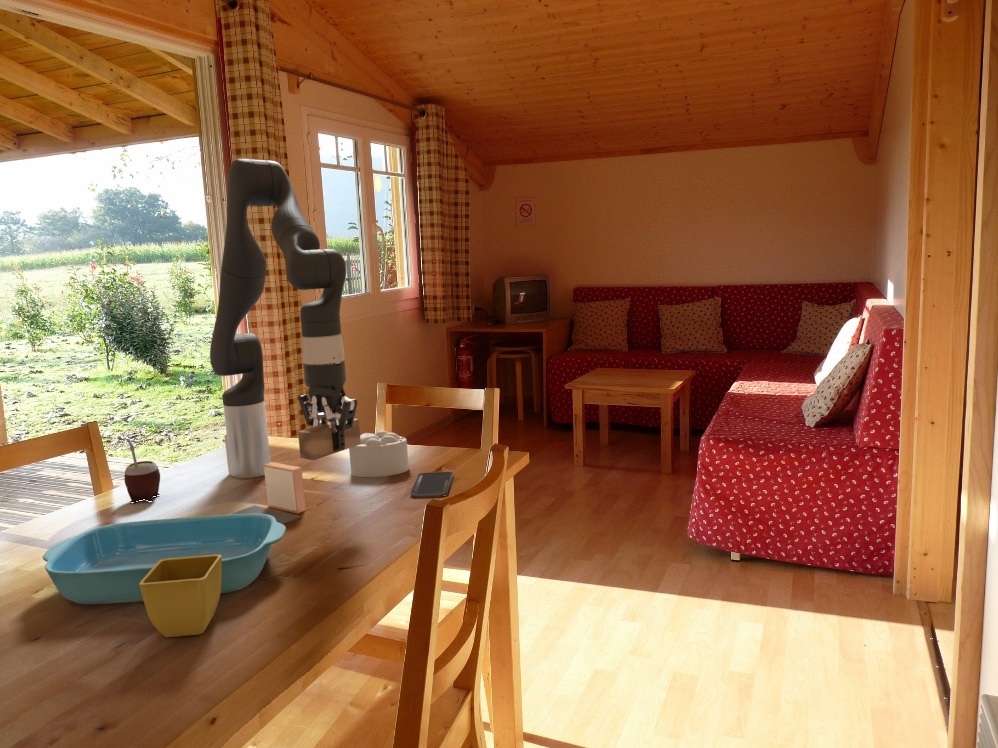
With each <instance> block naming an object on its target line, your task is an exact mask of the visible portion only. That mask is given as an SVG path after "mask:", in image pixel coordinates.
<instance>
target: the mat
mask: <svg viewBox="0 0 998 748" xmlns="http://www.w3.org/2000/svg"><path fill="white" fill-rule="evenodd" d="M230 514H267V515H271V516H273V517H274V518H275V519H276V522H278V523H281V524H283V525H284V526H285V525H286V524H288V523H290V522H293V521H296V520H298V519H300V518H301V515H296V514H292V513H288V512H286V511H285V512H284V511H282V510H281V511H280V510H275V509H271V508H266V507H264V506H259V505H255V504H254V505H252V506H249V507H245V508H243V509H241V510H238V511H236V512H233V513H230ZM230 514H228V515H230Z"/></svg>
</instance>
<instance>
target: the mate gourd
mask: <svg viewBox="0 0 998 748" xmlns="http://www.w3.org/2000/svg"><path fill="white" fill-rule="evenodd" d="M126 442H127V444H128V445H129V451H130V452H131V455H132V460H133V462H132V463H130V464H128V465H127V466H126V468H125V469H124V485H125V488H126V491H127V493H128V495H129V498H130V500H131V501H129V502H136V501H139V500H143V499H145V500H148V501H153V502H154V498H152V497H153V496H157V495H160V493H159V490H160V482H161V472H160V469H159V466H158V465H157V464H156V462H154V461H152V460H143V461H137V458H136V457H137V456H136V454H135V453H136V452H135V447H134V445H133V442H132V441H131V440H130V439H128V438H126ZM160 496H161V495H160Z"/></svg>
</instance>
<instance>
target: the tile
mask: <svg viewBox="0 0 998 748" xmlns="http://www.w3.org/2000/svg"><path fill="white" fill-rule="evenodd" d="M302 468H303V467H301V466H297V465H291V464H286V463H285V464H284V463H281V462H280V463H279V462H275V461H271V462H270V463H267V464H264V472H265V475H264V480H265V490H266V500H267V506H268V507H269V508H274V509H277V510H281V511H285V512H290V513H295V514H300V513H302V512H305V511H306V501H305V500H306V499H305V492H304V491H305V490H304V482H303V481H304V480H303V470H302Z"/></svg>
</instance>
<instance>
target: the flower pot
mask: <svg viewBox="0 0 998 748" xmlns="http://www.w3.org/2000/svg"><path fill="white" fill-rule="evenodd" d="M221 569H222V556H221V555H207V556H196V557H183V558H171V559H162V560H160V561H159V562H158V563H157V564H156V565H155V566H154V567H153V568H152V569H151V570H150V572H149V573H148V574H147V575H146V576H145V577H144V578H143V579H142V581H141V582H140V584H139V586H140V590H141V593H142V597H143V600H144V601H143V603H144V607H145V609H146V613H147V616H148V618H149V620H150V622H151V623H152V625H153V626H154V627H155V629H156V630H157V631H158V632H159V633H160V634H161V635H162V636H163V637H165V638H172V637H173V638H175V637H184V636H196V635H197V636H198V635H202V634H203V633H204V632H205V630H206V629H207V627H208V626H209V624H210V622H211V621H212V619H213V617H214V615H215V612H216V610H217V607H218V605H219V601H220V597H221V594H220V593H221Z"/></svg>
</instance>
